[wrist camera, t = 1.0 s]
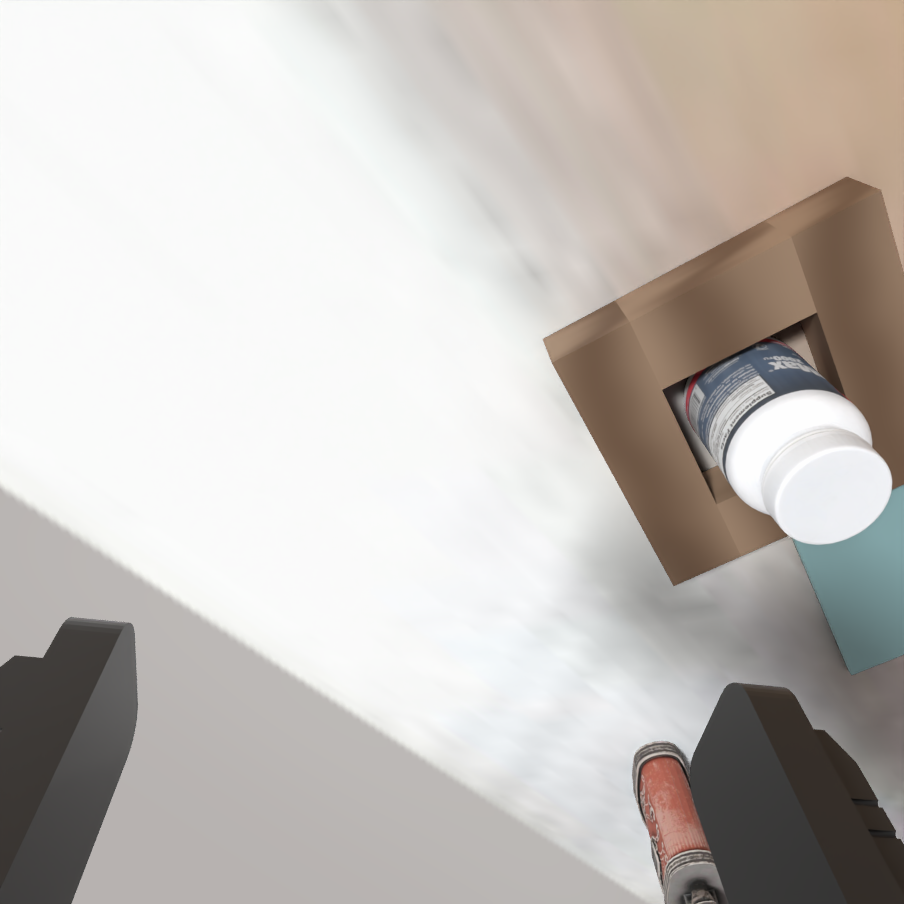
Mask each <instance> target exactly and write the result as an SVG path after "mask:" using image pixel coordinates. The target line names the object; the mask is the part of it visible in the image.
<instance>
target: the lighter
mask: <svg viewBox="0 0 904 904" xmlns="http://www.w3.org/2000/svg"><path fill="white" fill-rule="evenodd" d="M632 778H633V790H634V794H635V798H636V801H637V805H638V808H639V811H640V814H641V817H642V820H643V822H644V824H645V826H646V828H647V829H648V831H649V835H650V838H651V851H652V858H653V861H654V865H655V869H656V872H657V876H658V879H659V882H660V885H661V889H662V892H663V894H664V901H665V904H729V903H728V900H727V897H726V895H725V892H724V889H723V886H722V883H721V880H720V877H719V874H718V871H717V868H716V866H715V863H714V860H713V857H712V854H711V851H710V848H709V845H708V842H707V840H706V837H705V834H704V831H703V828H702V825H701V822H700V819H699V816H698V813H697V811H696V808H695V805H694V801H693V798H692V793H691V786H690V777H689V774H688V771H687V768H686V765H685V763H684V761H683V758H682V756H681V754H680V752H679V750H678V748H677V747H676V746H675V744H672V743H670V742H665V741H657V742H652V743H648V744H646V745H644V746H642V747H640V748H639V749H638V750H637V751H636V752H635V755H634V760H633V770H632Z"/></svg>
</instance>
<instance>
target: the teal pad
mask: <svg viewBox="0 0 904 904" xmlns="http://www.w3.org/2000/svg"><path fill="white" fill-rule="evenodd" d="M792 540H793V542H794V544H795V547H796V549H797V551H798V554H799V556H800V558H801V561H802V563H803V565H804V568H805V570H806V572H807V575H808V577H809V579H810V582H811V584H812V587H813V589H814V591H815V594H816V596H817V598H818V601H819V603H820V605H821V608H822V610H823V612H824V615H825V617H826V619H827V622H828V624H829V626H830V629H831V631H832V633H833V636H834V638H835V640H836V643H837V645H838V647H839V650H840V652H841V654H842V657H843V659H844V662H845V664H846V666H847V669H848V671H849V672H850V674H851V675H854V674H856V673H859V672H861V671H864V670H866V669H869V668H872V667H874V666H877V665H879V664H882V663H884V662H887V661H889V660H892V659H894V658H897V657H899V656H902V655H904V485H902V486H899V487H897V488H895V489H892V491H891V495H890V498H889V500H888V503H887V505H886V507H885V508H884V510H883V511H882V513H881V514H880V515H879V517H878V518H877V519H876V520H875V521H874V522H873V523H872V524H871V525H869V526H868V527H867V528H866V529H864V530H863V531H861V532H860V533H858V534H856V535H854V536H852V537H850V538H848V539H846V540H843V541H839V542H836V543H832V544H822V545H814V544H807V543H803V542H800V541H797V540H795V539H793V538H792Z"/></svg>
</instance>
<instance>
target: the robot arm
mask: <svg viewBox="0 0 904 904" xmlns="http://www.w3.org/2000/svg"><path fill="white" fill-rule="evenodd" d="M137 710H138V701H137V676H136V653H135V633H134V627H133V625H132V624H131V623H125V622H115V621H105V620H95V619H84V618H74V617H70V618H68V619H67V620H66V621H65V622H64V623H63V624H62V626H61V628H60V629H59V631H58V633H57V634H56V636H55V638H54V640H53V642H52V644H51V645H50V647H49V649H48V650H47V652H46V654H45V655H44V657H43V658H36V657H25V656H14V657H12V658H11V659H10V660H9V661H7V662H6V663H5V664H4V665H2V666H1V667H0V904H71V903H72V900H73V898H74V895H75V893H76V890H77V887H78V885H79V882H80V880H81V877H82V874H83V872H84V869H85V867H86V864H87V861H88V859H89V856H90V854H91V851H92V848H93V846H94V843H95V841H96V838H97V835H98V833H99V830H100V828H101V825H102V822H103V820H104V817H105V815H106V812H107V809H108V806H109V804H110V801H111V799H112V796H113V794H114V791H115V789H116V786H117V783H118V781H119V778H120V776H121V773H122V770H123V768H124V765H125V763H126V760H127V757H128V754H129V751H130V748H131V744H132V741H133V736H134V732H135V726H136V720H137ZM690 786H691V793H692V798H693V801H694V805H695V808H696V811H697V813H698V816H699V819H700V822H701V825H702V828H703V831H704V834H705V837H706V840H707V842H708V845H709V848H710V851H711V854H712V857H713V860H714V863H715V866H716V868H717V871H718V874H719V877H720V880H721V883H722V886H723V889H724V892H725V895H726V897H727V900H728V903H729V904H904V844H903V843H902V841H901V839H897V838H896V836H895V832H896V830H895V829H894V827H893V825H892V824H891V822H890V820H889V818H888V817H887V815H886V813H885V811H884V810H883V808H879V807H878V799H877V798H876V796H875V794H874V792H873V791H872V789H871V787H870V785H869V784H868V782H867V780H866V779H865V777H864V775H863V773H862V772H861V770H860V768H859V766H858V765H857V763H856V762H855V761H854V760H853V759H852V758H851V757H850V756H849V755H848V754H847V753H846V752H845V751H844V750H843V749H842V748H841V747H840V746H839V745H838V744H837V743H836V742H835V741H834V740H833V739H832V738H831V737H830V736H829V735H828V734H827V733H826V732H825V730H815V729H813V728H812V726H811V724H810V722H809V720H808V719H807V717H806V715H805V713H804V711H803V709H802V708H801V706H800V704H799V702H798V700H797V699H796V697H795V695H794V694H793V693H792V692H791V691H790V690H788V689H786V688H784V687H773V686H763V685H752V684H742V683H731V684H729V685H728V686H726V688H725V689H724V691H723V692H722V694H721V696H720V699H719V701H718V703H717V705H716V707H715V709H714V711H713V713H712V716H711V718H710V720H709V722H708V724H707V726H706V728H705V730H704V733H703V735H702V737H701V739H700V741H699V743H698V745H697V748H696V750H695V752H694V754H693V757H692V761H691V768H690Z"/></svg>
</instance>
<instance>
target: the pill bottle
mask: <svg viewBox="0 0 904 904" xmlns="http://www.w3.org/2000/svg"><path fill="white" fill-rule="evenodd" d="M684 409H685V413H686V416H687V419H688V421H689V423H690V424H691V426H692V428H693V430H694V431H695V433H696V434H697V435H698V437H699V438H700V440H701V441H702V443H703V444H704V446H705V447H706V448H707V450H708V451H709V453H710V454H711V456H712V457H713V459H714V460H715V462H716V463H717V465H718V466H719V468H720V469H721V471H722V473H723V474H724V476H725V478H726V479H727V481H728V483H729V484H730V486H731V487H732V488H733V490H734V491H735V492H736V494H737V495H738V496H739V497H740V498H741V499H742V500H743V501H744V502H745V503H746V504H747V505H749V506H750V507H752V508H754V509H756V510H757V511H760V512H762V513H765V514H768V515H771V517H772V518H773V519H774V520H775V522H776V523H777V524H778V525H779V527H780V528H781V529H782V530H783V531H784V532H785V533H786V534H787V535H788V536H790V537H791V538H793V539H795V540H797V541H800V542H803V543H807V544H814V545H822V544H832V543H836V542H839V541H843V540H846V539H848V538H850V537H852V536H854V535H856V534H858V533H860V532H861V531H863V530H864V529H866V528H867V527H868V526H869V525H871V524H872V523H873V522H874V521H875V520H876V519H877V518H878V517H879V515H880V514H881V513H882V511H883V510H884V508H885V507H886V505H887V503H888V500H889V498H890V495H891V491H892V476H891V472H890V469H889V467H888V465H887V464H886V462H885V461H884V459H883V458H882V457H881V456H880V455H879V454H878V453H877V452H876V451H875V450H874V449H873V448H872V436H871V431H870V428H869V425H868V423H867V421H866V419H865V417H864V416H863V414H862V413H861V412H860V411H859V410H858V408H857V407H856V406H855V405H854V404H853V403H852V402H851V401H850V400H848V399H847V398H846V397H845V396H844V395H843V394H841V393H840V392H839V391H838V390H837V389H836V388H835V387H834V386H832V385H831V384H830V383H829V382H828V381H827V380H826V379H825V378H824V377H822V376H821V375H820V374H819V373H818V372H817V371H816V370H815V369H814V368H813V367H811V366H810V365H809V364H808V363H807V362H806V361H805V360H804V359H803V358H802V357H801V356H800V355H799V354H798V353H796V352H795V351H794V350H793V349H792V348H791V347H789V346H788V345H787V344H785V343H783V342H782V341H780V340H777V339H775V338H772V337H767V338H765V339H763V340H761V341H759V342H757V343H755V344H753V345H751V346H749V347H747V348H745V349H743V350H741V351H739V352H737V353H735V354H733V355H731V356H729V357H727V358H725V359H723V360H721V361H719V362H717V363H715V364H713V365H711V366H709V367H707V368H705V369H703V370H701V371H699V372H697V373H695V374H693V375H691V376H689V378H688V380H687V383H686V386H685V391H684Z"/></svg>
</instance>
